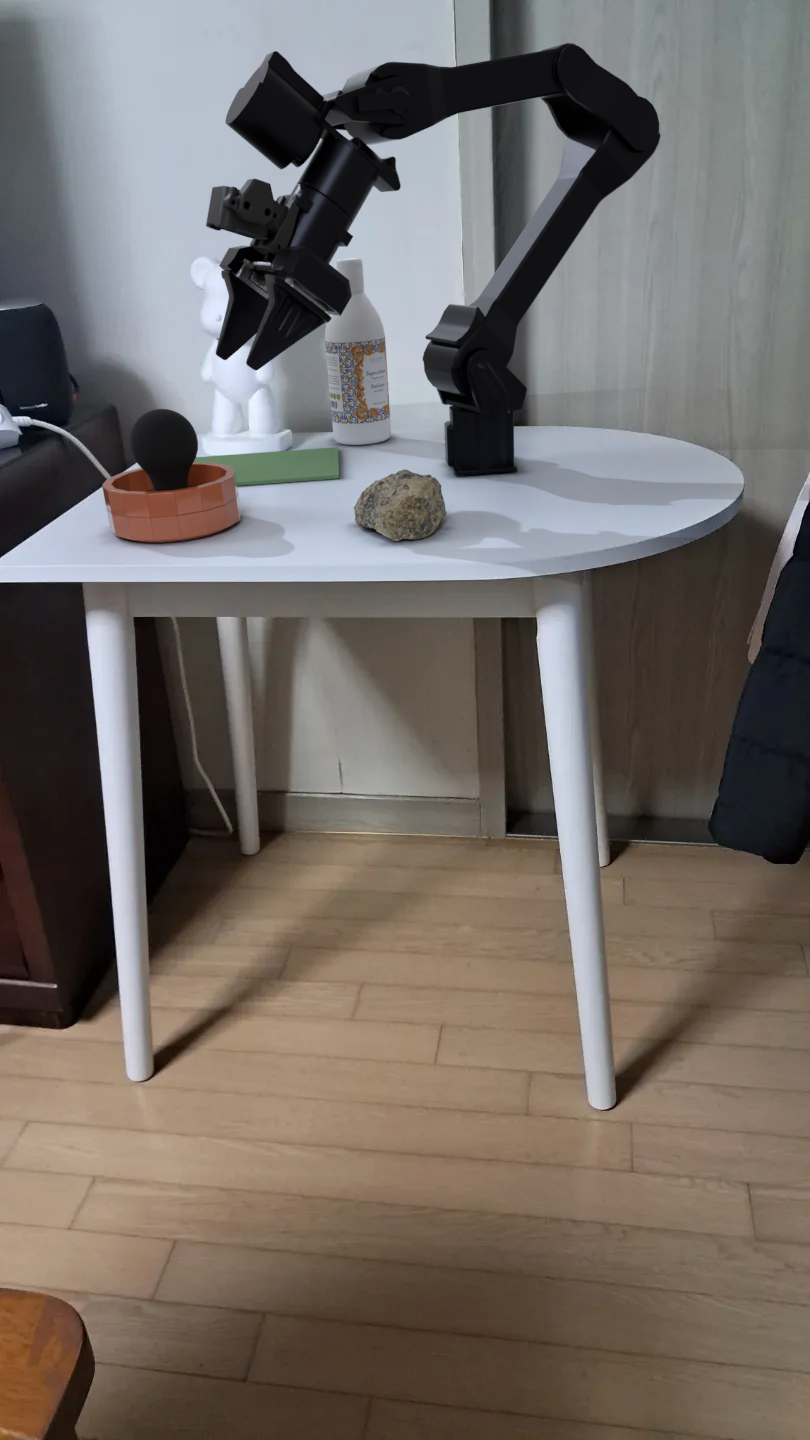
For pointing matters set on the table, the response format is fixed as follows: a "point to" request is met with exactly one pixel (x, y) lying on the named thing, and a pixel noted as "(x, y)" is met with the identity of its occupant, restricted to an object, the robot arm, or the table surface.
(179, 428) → the light bulb
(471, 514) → the table surface
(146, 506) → the pot
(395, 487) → the rock
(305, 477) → the mat
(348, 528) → the table surface
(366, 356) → the bath foam
